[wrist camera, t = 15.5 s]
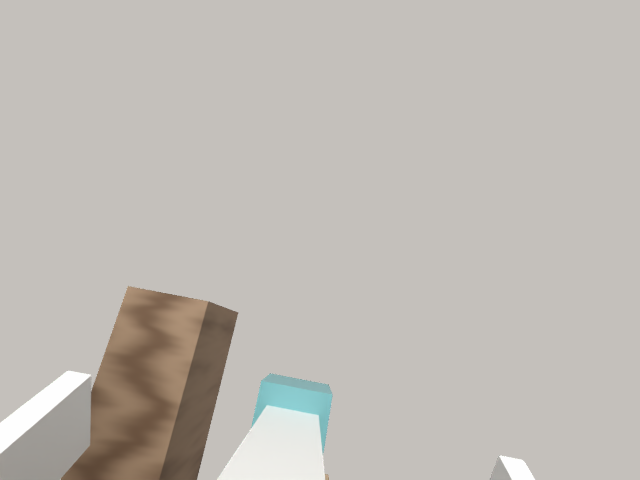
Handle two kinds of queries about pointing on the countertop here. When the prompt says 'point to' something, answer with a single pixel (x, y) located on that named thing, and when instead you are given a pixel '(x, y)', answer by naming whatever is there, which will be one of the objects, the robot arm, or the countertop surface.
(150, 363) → the tall block
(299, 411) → the teal and white bar
